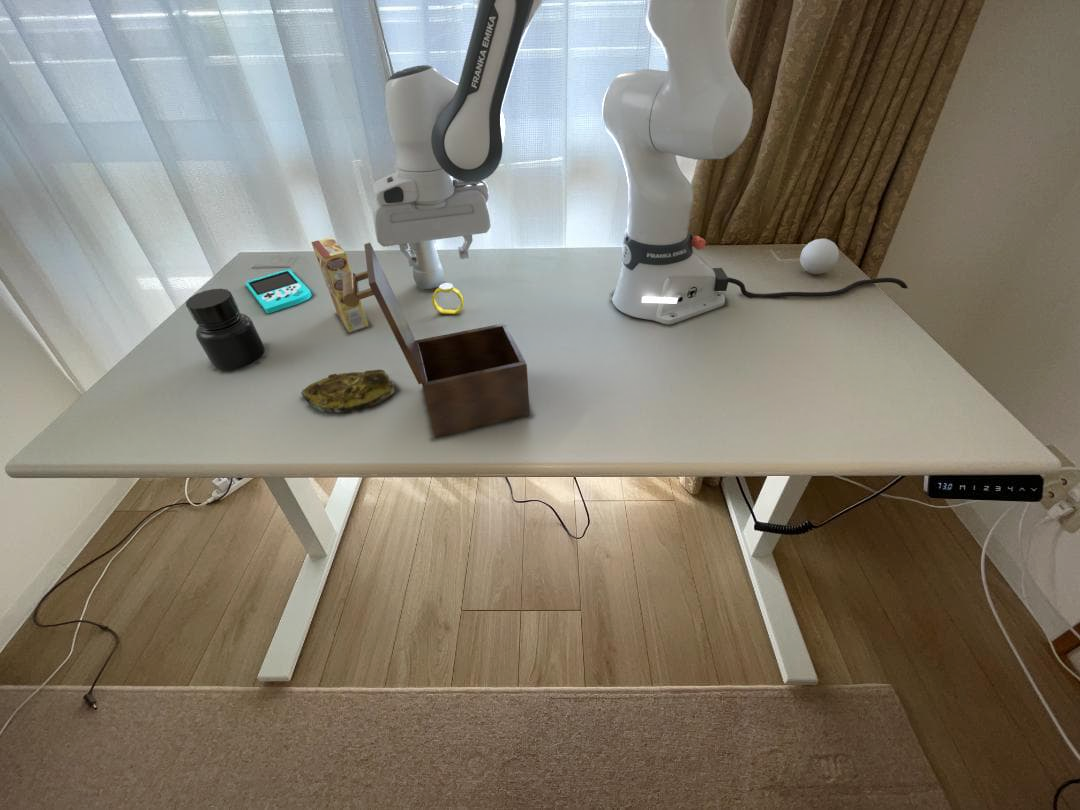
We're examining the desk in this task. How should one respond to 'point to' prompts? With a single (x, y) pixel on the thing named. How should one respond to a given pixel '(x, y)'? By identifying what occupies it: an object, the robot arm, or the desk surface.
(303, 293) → the handheld game console
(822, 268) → the white egg
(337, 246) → the candy box
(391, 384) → the mossy rock
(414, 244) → the plastic bottle
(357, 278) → the lid
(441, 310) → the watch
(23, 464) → the desk surface
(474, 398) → the chest
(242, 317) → the ink bottle
